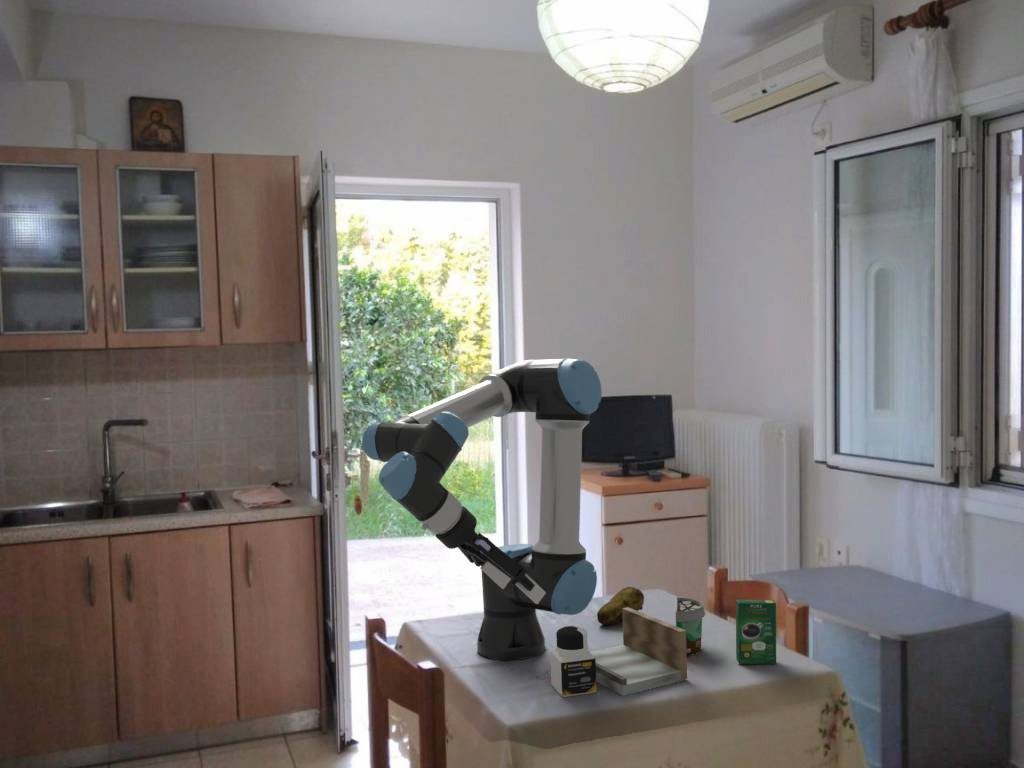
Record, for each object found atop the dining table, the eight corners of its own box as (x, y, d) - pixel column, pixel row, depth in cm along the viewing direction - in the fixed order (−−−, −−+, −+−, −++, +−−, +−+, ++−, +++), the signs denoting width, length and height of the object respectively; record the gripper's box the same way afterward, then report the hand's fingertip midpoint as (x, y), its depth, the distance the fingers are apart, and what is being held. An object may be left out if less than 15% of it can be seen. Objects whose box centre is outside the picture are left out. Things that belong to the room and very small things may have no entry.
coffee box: (775, 660, 196) (773, 598, 196) (778, 664, 193) (776, 601, 193) (736, 660, 197) (734, 598, 196) (738, 665, 194) (736, 602, 193)
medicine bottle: (562, 697, 180) (560, 636, 179) (550, 685, 187) (548, 625, 186) (597, 692, 182) (595, 631, 181) (584, 680, 189) (582, 621, 188)
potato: (589, 620, 230) (588, 588, 229) (638, 614, 233) (637, 582, 233) (601, 629, 222) (600, 596, 221) (651, 623, 225) (650, 590, 225)
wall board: (568, 666, 197) (566, 619, 197) (629, 652, 204) (627, 607, 204) (622, 695, 180) (621, 644, 179) (687, 679, 187) (685, 630, 186)
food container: (706, 659, 198) (705, 612, 198) (676, 658, 199) (675, 612, 199) (706, 641, 210) (705, 597, 210) (678, 640, 212) (677, 596, 211)
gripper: (410, 526, 181) (482, 592, 188) (464, 547, 159) (544, 622, 166) (434, 496, 183) (505, 562, 191) (491, 513, 161) (568, 588, 169)
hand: (523, 590), depth 179 cm, fingers open, 13 cm apart
